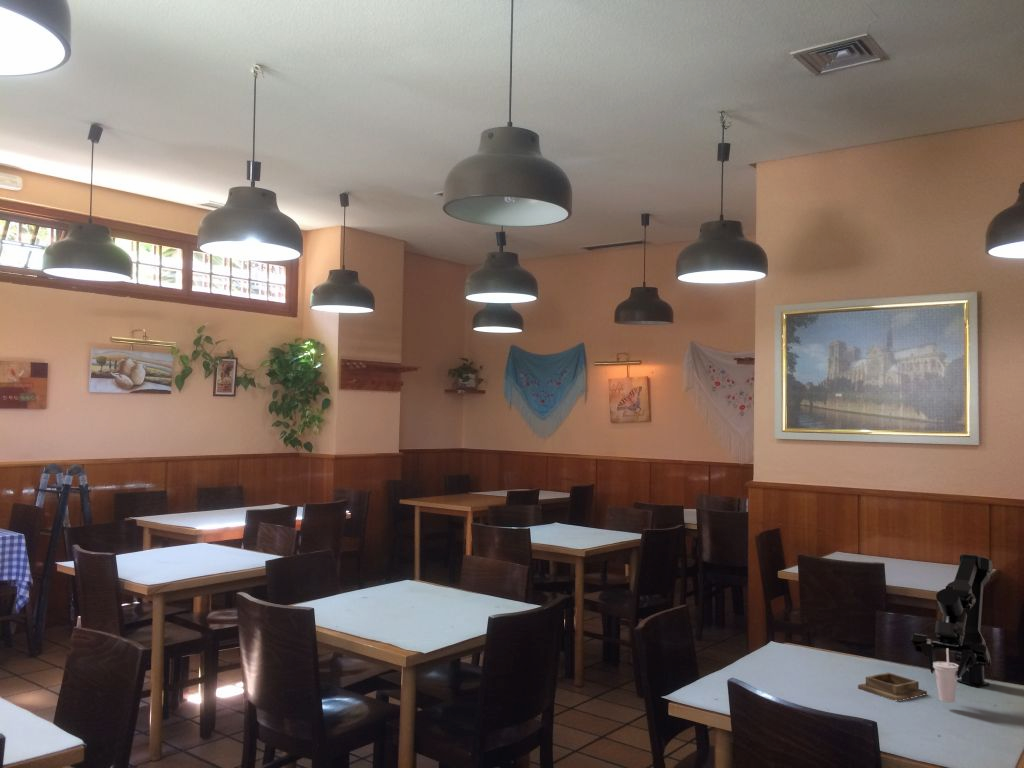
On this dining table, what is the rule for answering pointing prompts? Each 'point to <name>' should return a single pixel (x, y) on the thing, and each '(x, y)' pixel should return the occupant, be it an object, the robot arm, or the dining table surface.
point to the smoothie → (946, 678)
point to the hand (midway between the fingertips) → (944, 674)
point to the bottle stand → (892, 686)
